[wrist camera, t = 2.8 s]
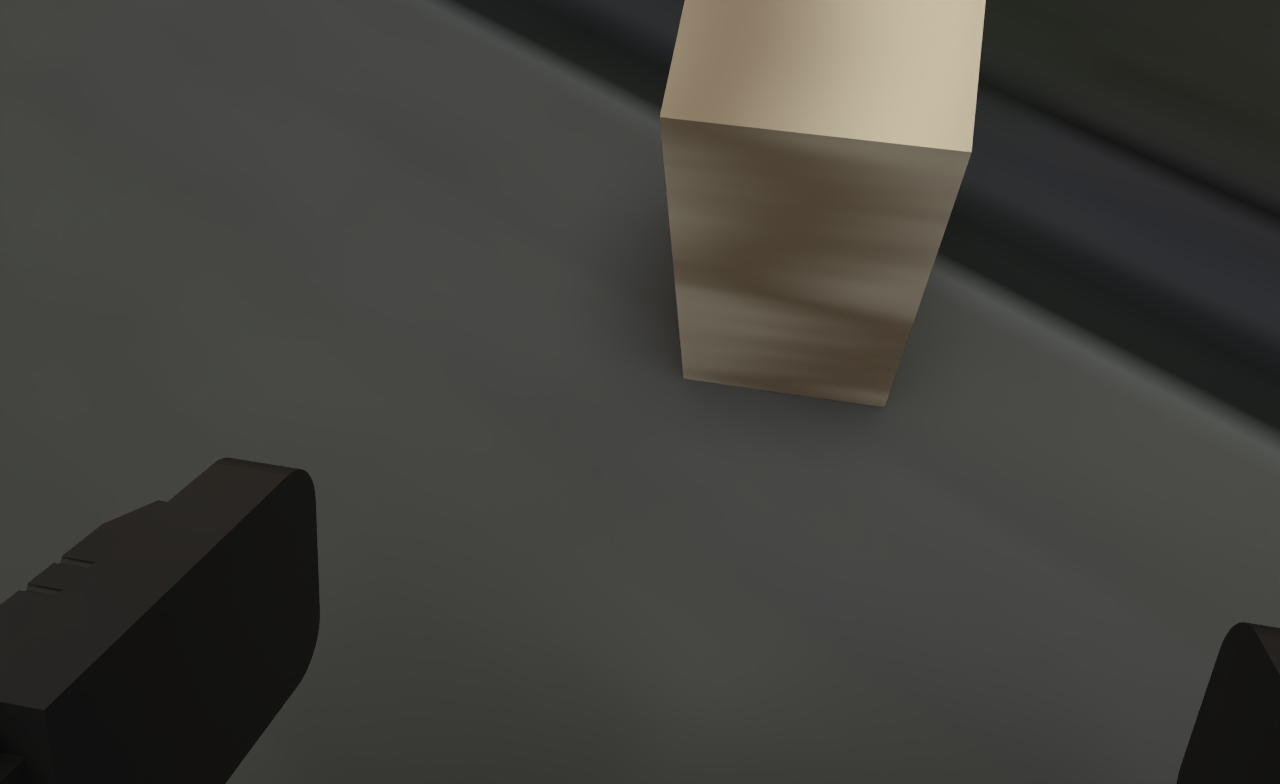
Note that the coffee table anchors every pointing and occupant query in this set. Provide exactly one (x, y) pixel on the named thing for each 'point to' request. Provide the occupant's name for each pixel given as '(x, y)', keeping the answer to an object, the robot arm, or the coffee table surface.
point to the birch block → (813, 183)
